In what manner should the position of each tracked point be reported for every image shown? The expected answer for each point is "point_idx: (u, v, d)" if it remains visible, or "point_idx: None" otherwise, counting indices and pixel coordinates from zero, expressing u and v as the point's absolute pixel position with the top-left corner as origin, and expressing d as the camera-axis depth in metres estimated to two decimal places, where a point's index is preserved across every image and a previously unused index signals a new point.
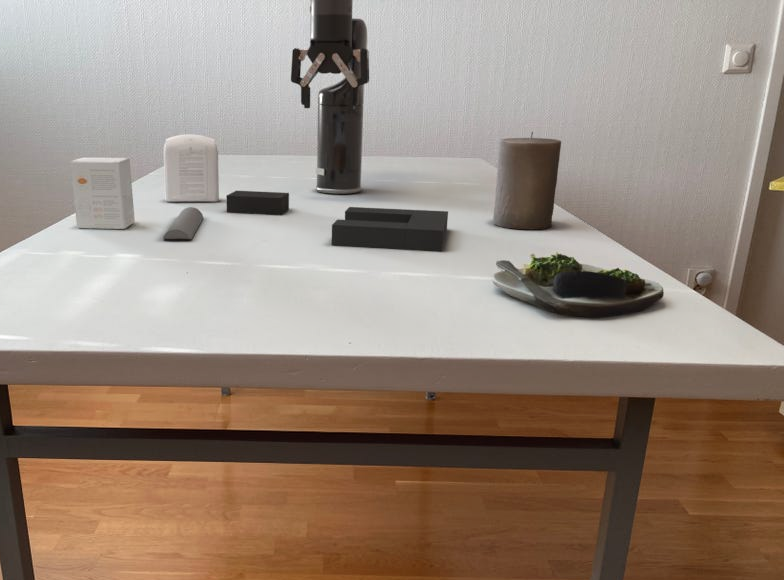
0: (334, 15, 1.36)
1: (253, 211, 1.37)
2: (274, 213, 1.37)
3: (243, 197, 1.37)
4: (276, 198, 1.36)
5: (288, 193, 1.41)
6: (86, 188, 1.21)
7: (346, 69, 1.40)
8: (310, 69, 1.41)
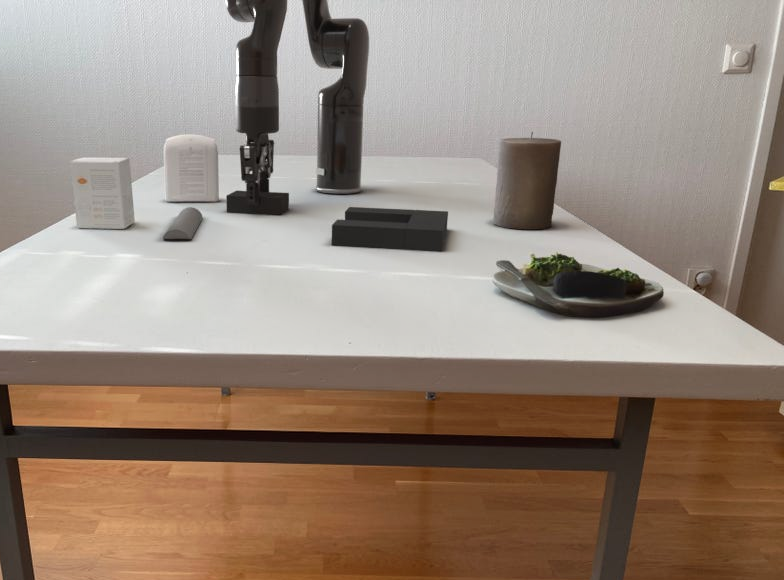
0: (235, 107, 1.34)
1: (253, 211, 1.37)
2: (274, 213, 1.37)
3: (243, 197, 1.37)
4: (276, 198, 1.36)
5: (288, 193, 1.41)
6: (86, 188, 1.21)
7: None
8: None
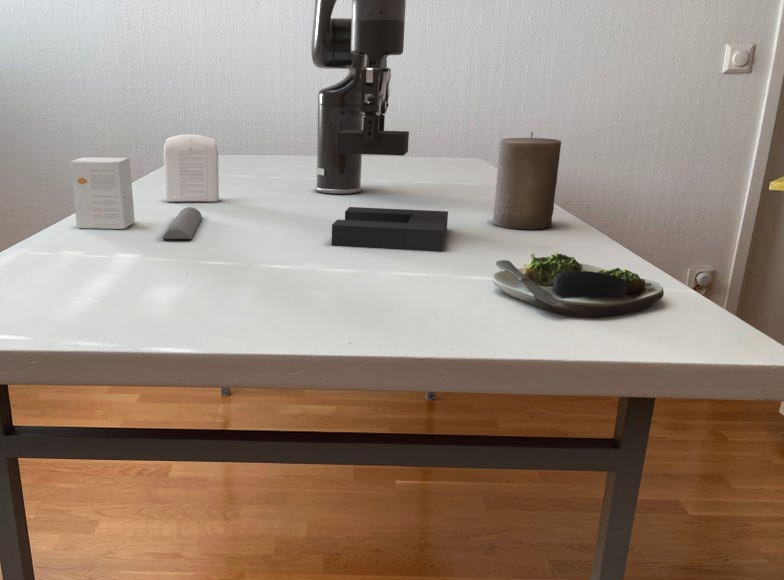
0: (351, 22, 1.10)
1: (370, 151, 1.13)
2: (395, 153, 1.13)
3: (358, 134, 1.13)
4: (399, 135, 1.12)
5: (408, 132, 1.17)
6: (86, 188, 1.21)
7: None
8: None
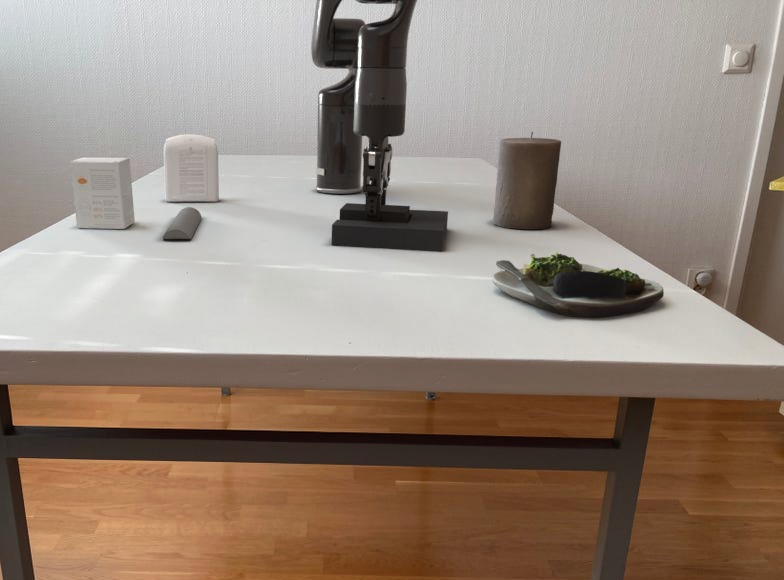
0: (354, 105, 1.13)
1: None
2: None
3: (360, 211, 1.16)
4: (400, 213, 1.15)
5: (409, 206, 1.20)
6: (86, 188, 1.21)
7: None
8: None
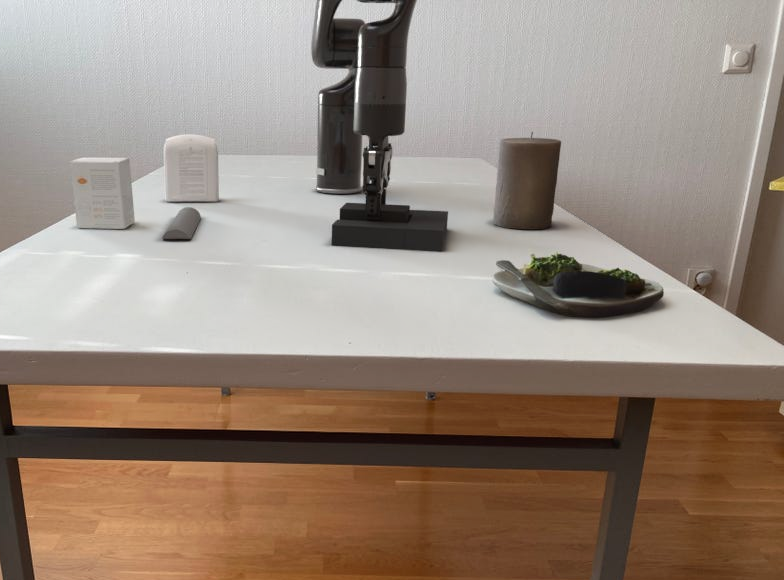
0: (354, 104, 1.13)
1: None
2: None
3: (360, 211, 1.16)
4: (400, 212, 1.15)
5: (409, 206, 1.20)
6: (86, 188, 1.21)
7: None
8: None
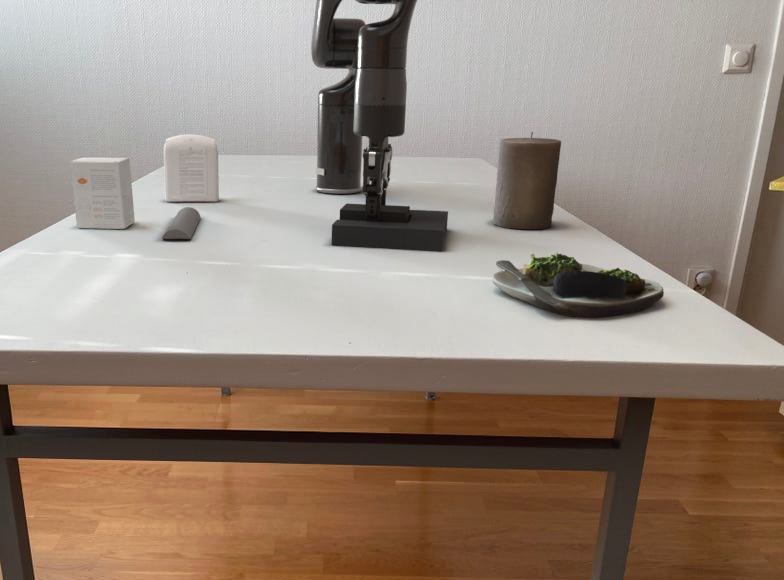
0: (354, 105, 1.13)
1: None
2: None
3: (360, 212, 1.16)
4: (400, 213, 1.15)
5: (409, 207, 1.20)
6: (86, 188, 1.21)
7: None
8: None
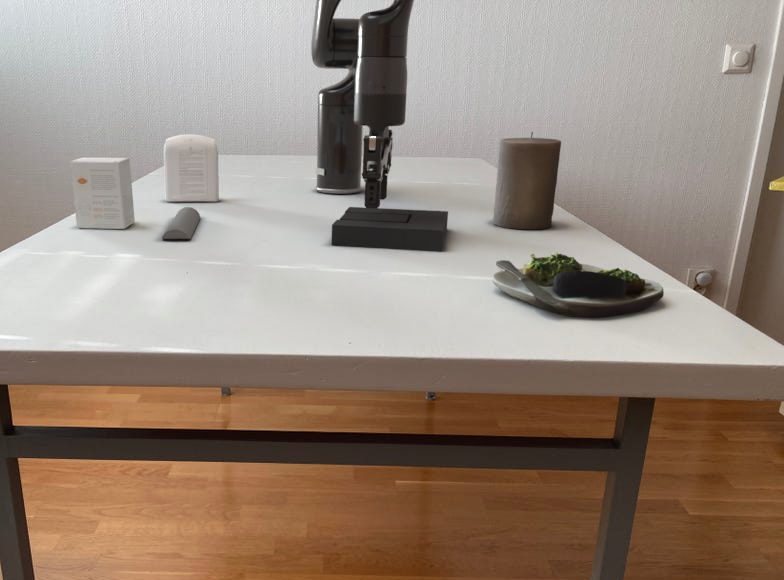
0: (354, 94, 1.12)
1: None
2: None
3: None
4: (400, 222, 1.16)
5: (408, 215, 1.21)
6: (86, 188, 1.21)
7: None
8: None
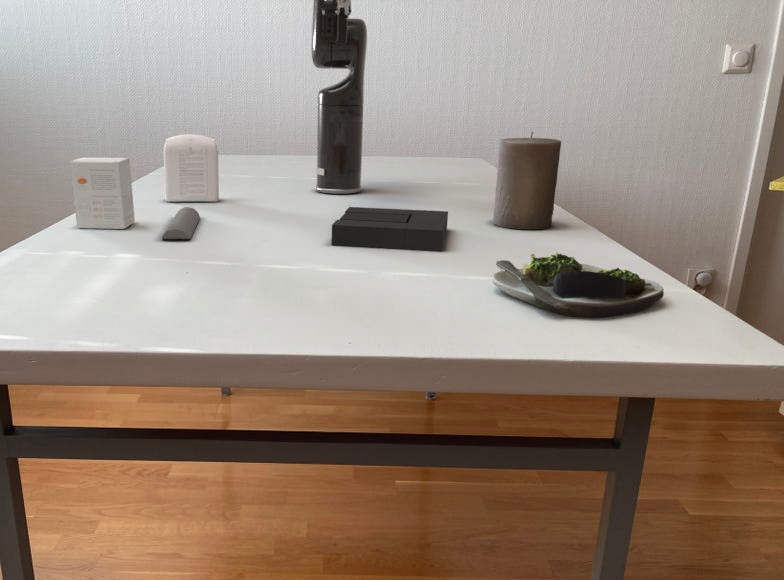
0: None
1: None
2: None
3: None
4: (400, 222, 1.16)
5: (408, 215, 1.21)
6: (86, 188, 1.21)
7: None
8: None
